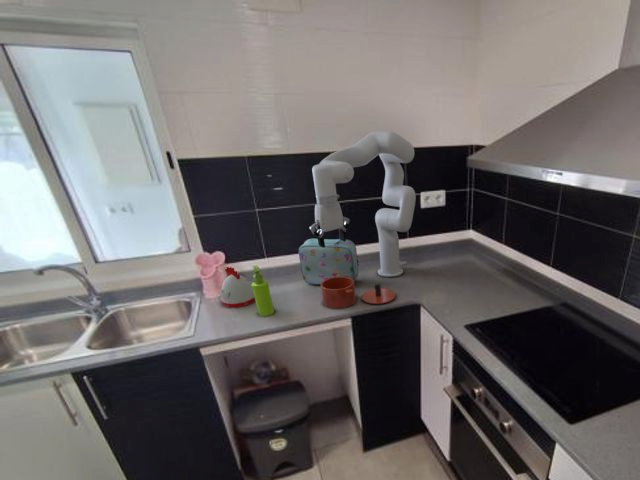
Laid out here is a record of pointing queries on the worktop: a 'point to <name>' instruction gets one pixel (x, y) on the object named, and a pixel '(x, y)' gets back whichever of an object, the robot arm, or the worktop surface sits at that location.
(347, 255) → the lunch box
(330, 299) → the pot
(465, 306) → the worktop surface
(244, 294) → the kitchen timer
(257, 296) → the soap dispenser
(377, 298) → the lid
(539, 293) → the worktop surface
